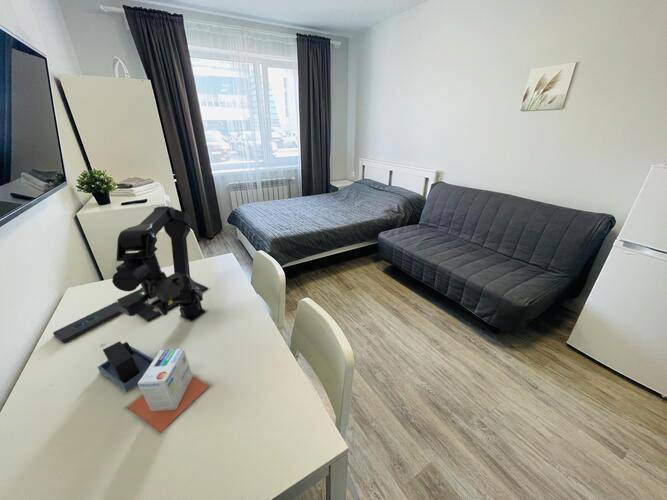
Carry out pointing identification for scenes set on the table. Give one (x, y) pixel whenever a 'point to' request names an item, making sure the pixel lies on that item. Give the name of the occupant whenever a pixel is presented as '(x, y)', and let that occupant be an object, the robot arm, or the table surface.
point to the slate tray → (142, 365)
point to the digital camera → (122, 361)
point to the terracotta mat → (166, 417)
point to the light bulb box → (166, 380)
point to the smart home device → (87, 323)
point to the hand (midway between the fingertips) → (165, 314)
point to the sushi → (150, 311)
